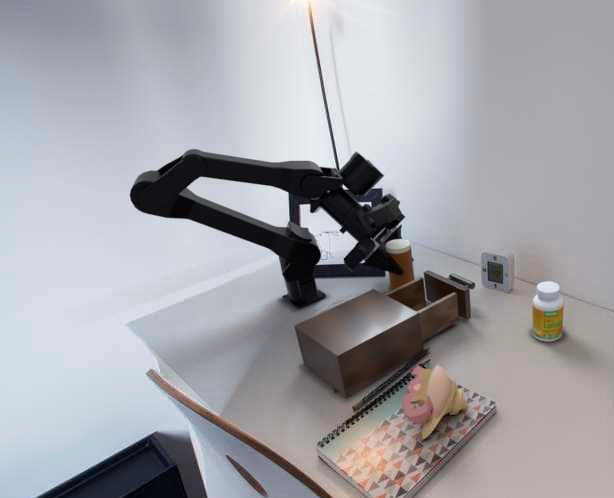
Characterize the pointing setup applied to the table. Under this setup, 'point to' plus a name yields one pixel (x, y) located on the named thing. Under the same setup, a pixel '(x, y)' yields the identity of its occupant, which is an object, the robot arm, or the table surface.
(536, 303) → the supplement bottle
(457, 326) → the table surface
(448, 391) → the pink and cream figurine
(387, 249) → the pill bottle
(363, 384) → the cabinet
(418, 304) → the drawer
